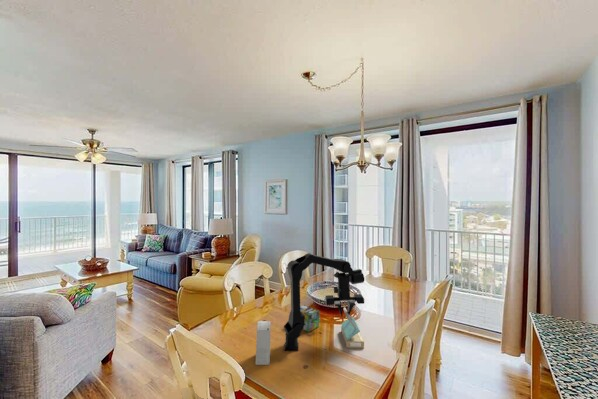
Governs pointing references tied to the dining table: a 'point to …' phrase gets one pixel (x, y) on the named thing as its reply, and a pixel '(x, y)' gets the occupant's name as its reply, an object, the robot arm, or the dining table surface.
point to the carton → (353, 340)
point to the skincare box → (263, 343)
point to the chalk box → (310, 318)
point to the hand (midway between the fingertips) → (345, 316)
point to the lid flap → (349, 326)
